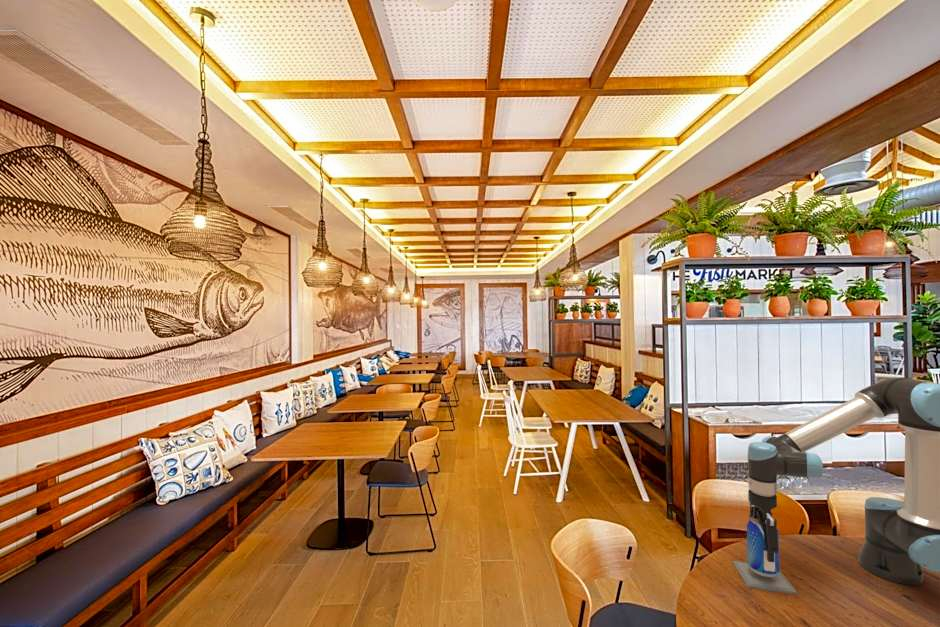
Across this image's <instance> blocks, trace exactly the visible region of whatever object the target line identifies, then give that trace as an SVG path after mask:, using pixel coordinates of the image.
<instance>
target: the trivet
mask: <svg viewBox="0 0 940 627" xmlns="http://www.w3.org/2000/svg"><path fill="white" fill-rule="evenodd" d="M732 564H733V566H734V567H735V569H736V570H738V571H737V572H738V573H739V576H740V577H741V578H742V579H741V580H743V582H744V583H745V585H746V587H747V588H748V589H754V590H762V591H768V592H769V591H770V592H777V593H783V594H791V595H796V596H797V594H798V592H797V590H796V589H795V588H794V587H793V585H792V584H791V582H790V581H789V580H788V579H787V578H786V576H785V575H784V574H783V573H782V571H781V570H780V569H779V573H778V574H776V576H774V577H765V576H762V575H759V574H757V573H755V572H754V571H752V570H751V568H750V566H749V565H748V563H747V561H746V562H745V561H739V560H732Z"/></svg>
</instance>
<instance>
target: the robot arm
mask: <svg viewBox="0 0 940 627" xmlns="http://www.w3.org/2000/svg"><path fill="white" fill-rule="evenodd" d="M894 414H897V419H898V420H897V424H898V425H899V426H900V427H901V428H902V429H903V430H904V433H905V434H904V437H905V438H904V487H903V488H904V490H903V491H904V493H903V494H904V495H903V499H904V500H903V501H902V500H899V499H893V498H888V497H881V496H878V497H877V496H875V497H874V496H873V497H868V498H866V499H865V504H864V507H863V508H864V531H865V532H864V534H865V537H864V542H863V544H862V546H861V547H860V549H859V552H858V556H857V558H858V563H859V565H860V567H862V568H863V569H864V570H866V571H867V572H869V573H871V574H874V575H876V576H877V577H880V578H882V579H885V580H888V581H891V582H894V583H898V584H902V585H906V586H907V585H909V586H919V585H922V584H924V581H925V580H924V579H925V578H924V577H925V575H924V571H923V568H924V569H926V570H928V571H931V572H934V573H939V574H940V383H936V382H930V381H924V380H920V379H919V380H918V379H914V378H909V377H904V376H903V377H900V376H899V377H892V378H887V379H884V380H880V381H879V382H875V383H873V384H871V385H869V386H867V387H865V388H862V389H861V390H859V391H857V392H855V393H854V397H853V398H851V399H849V400H847V401H845V402H843V403H841V404H840V405H837V406H835V407H834V408H831V409H830V410H827V411H825V412H824V413H822V414H820V415H818V416H816V417H813V418H812V419H810V420H808V421H806V422H804V423H802V424H800V425H798V426H796V427H795V428H793V429H791V430H788V431H786V432H785V433H783V434H782V435H779V436H773V435H771V436H770V435H769V436H766V437H764V438H763V439H762V440H761V441H753V442H750V443H749V444H748V447H747V469H748V470H747V471H748V473H747V474H748V477H747V478H748V479H747V480H746V483H747V485H748V490H747V491H748V492H747V493H748V494H747V495H748V496H747V497H748V498H747V499H748V501H749V516H748V522H749V521H750V518H751V517H754V518H757V519H759V524H760V525H761V526H762V527H763V532H764V544H765V548H763V550H764V570H765V571H773V572H775V553H779V554H780V548H779V549H778V538H777V529H778V528H777V524H778V520H777V519H776V518H773V513H772V510H773V509H776V508H777V506H778V497H777V494H778V480H777V478H778V476H783V477H784V476H786V477H794V478H795V477H797V478H798V477H799V478H806V479H809V478H812V479H814V478H815V479H816V478H817V479H818V478H820V477H822V476H823V473H824V464H823V461H822V459H821V457H820V456H819V455H818V454H817V453H815V452H808V451H809V450H812V449H813V448H816V447H818V446H819V445H822V444H823V443H826V442H828V441H830V440H832V439H834V438H836V437H838V436H840V435H843V434H844V433H846V432H848V431H850V430H852V429H854V428H857V427H858V426H860V425H863V424H864V423H867V422H868V421H871V420H872V419H875V418H876V419H877V418H878V419H882V418H885V417H887V416H889V415H894ZM763 523H766V524H763ZM922 567H923V568H922Z"/></svg>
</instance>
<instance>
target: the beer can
mask: <svg viewBox="0 0 940 627" xmlns="http://www.w3.org/2000/svg"><path fill="white" fill-rule="evenodd" d="M763 524H766V523H763ZM779 534H780V532H779V530H778V528H777V538H778V549H779V550H780V543H779V542H780V535H779ZM763 548H765V544H764V532H763V527H762V526H761V525H760V524H759V519H757V518H754V517H751V518H750V521H749V520H748V522H746V557H747V559H746V562H747V563H748V565H749V566H750V568H751V570H752V571H754V572H755V573H757V574H759V575H762V576H765V577H774V576H776V574H778V573H779V570H780V552H779V553H775V572H773V571H765V570H764V550H763Z"/></svg>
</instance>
